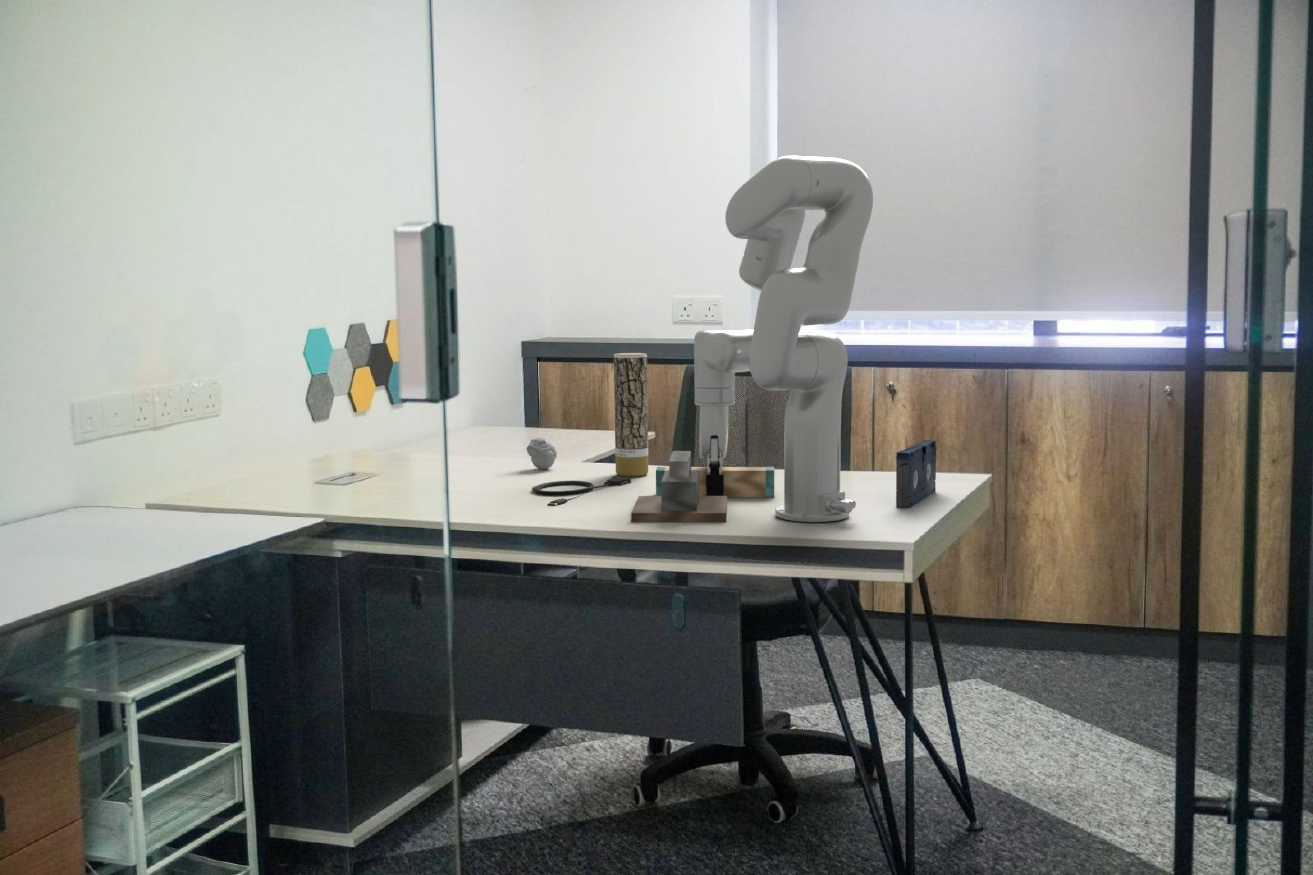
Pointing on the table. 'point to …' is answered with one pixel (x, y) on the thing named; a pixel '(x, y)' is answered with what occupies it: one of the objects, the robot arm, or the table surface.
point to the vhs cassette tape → (915, 473)
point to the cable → (610, 482)
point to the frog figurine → (542, 453)
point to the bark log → (631, 414)
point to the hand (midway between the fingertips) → (715, 492)
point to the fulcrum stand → (680, 497)
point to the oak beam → (734, 481)
